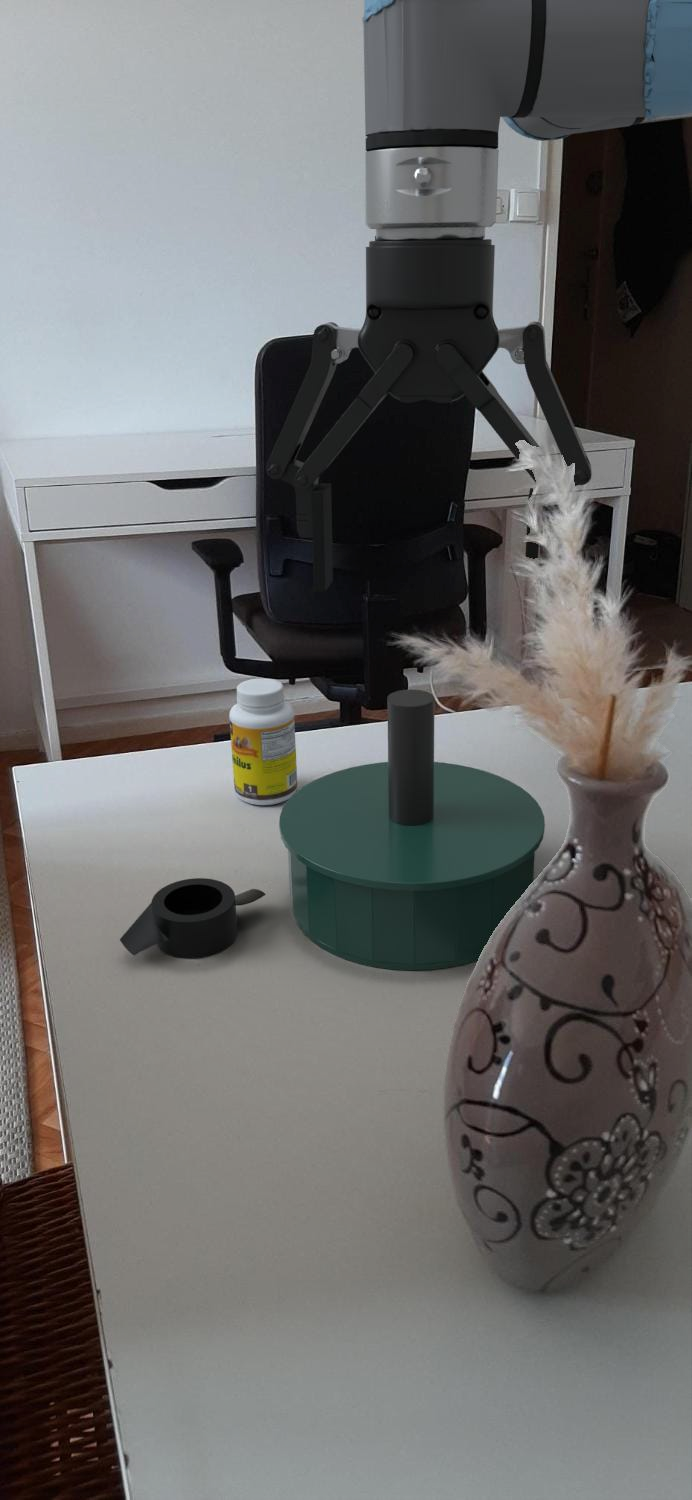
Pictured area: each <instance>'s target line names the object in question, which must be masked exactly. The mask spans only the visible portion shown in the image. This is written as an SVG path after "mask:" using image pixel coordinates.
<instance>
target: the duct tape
mask: <svg viewBox="0 0 692 1500" xmlns="http://www.w3.org/2000/svg"><path fill="white" fill-rule="evenodd" d="M265 896H266V892H264V891H263V890H260V889H257V888H250V889H249V890H245V891H243V892H241V893H238V894H235V891H234V889H233V888H232V887H231V886H230V885H229V884H227V883H225V882H224V881H220V880H217V879H212V878H205V877H199V878H198V877H197V878H196V877H195V878H187V879H182V880H177V881H174V882H172V883H169V884H167V885H165V886H164V887H162V888H160V889H159V890H158V891H157V892H156V893H155V894H154V895H153V896H152V898H151V902H150V903H149V905H148V906H147V907H145V909H144V910H143V912H142V913H141V914H140V915H139V916H138V917H137V918H136V920H135V921H134V922H133V923H132V924H131V926H130V927H128V929H127V930H126V931H125V933H124V934H122V936H121V937H120V938H119V942H120V943H121V944H122V945H123V947H124V948H125V949H126V951H128V952H129V953H130V954H131V955H132V956H133V957H134V956H136V955H138V954H140V953H141V952H143V951H145V950H147V949H149V948H151V947H153V946H157V948H158V949H159V950H160V951H162V952H163V953H165V954H166V955H169V956H172V957H174V958H180V959H199V958H205V957H206V958H207V957H210V956H213V955H216V954H219V953H221V952H223V951H225V950H226V949H228V948H229V947H230V946H231V945H233V943H234V942H235V941H236V940H237V938H238V934H239V933H238V932H239V931H238V919H237V906H239V907H240V906H245V905H248V904H251V903H253V902H256V901H258V900H260V899H261V898H263V897H265Z"/></svg>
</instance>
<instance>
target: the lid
mask: <svg viewBox="0 0 692 1500" xmlns="http://www.w3.org/2000/svg"><path fill="white" fill-rule="evenodd" d="M386 700H387V704H386V705H387V761H381V762H375V763H368V764H367V763H366V764H361V765H357V766H351V767H348V768H344V769H339V770H336V771H334V772H332V773H328V774H325V775H323V776H321V777H319V778H316V779H314V780H312V781H310V782H309V783H307V784H306V785H304V786H302V787H300V789H297V790H296V792H295V793H294V794H293V795H292V796H291V797H290V798H289V799H288V800H286V801H285V804H284V805H283V806H282V809H281V812H280V814H279V823H278V828H279V835H280V839H281V841H282V843H283V845H284V847H285V848H286V850H287V851H288V850H289V852H290V853H291V854H292V855H293V856H294V857H295V858H296V859H298V860H299V861H300V862H301V863H303V864H304V865H306V866H308V867H309V868H311V869H313V870H315V871H317V872H319V873H321V874H323V875H325V876H328V877H331V878H334V879H337V880H339V881H343V882H347V883H351V884H354V885H359V886H365V887H370V888H377V889H386V890H402V891H424V890H439V889H449V888H455V887H461V886H467V885H471V884H475V883H479V882H483V881H486V880H489V879H491V878H494V877H497V876H500V875H502V874H504V873H506V872H508V871H511V870H513V869H514V868H516V867H517V866H519V865H521V864H522V863H524V862H525V861H526V860H527V859H528V858H530V857H531V856H532V855H533V854H534V852H535V853H536V851H537V850H538V849H539V847H540V846H541V843H542V841H543V839H544V836H545V830H546V823H545V822H546V821H545V815H544V813H543V810H542V808H541V806H540V805H539V803H538V801H537V800H536V799H535V798H534V797H533V796H532V795H531V794H530V793H529V792H528V791H527V790H525V789H524V788H523V787H521V786H519V785H518V784H516V783H514V782H513V781H511V780H509V779H506V778H504V777H502V776H500V775H498V774H494V773H492V772H488V771H486V770H484V769H479V768H474V767H472V766H466V765H462V764H455V763H448V762H440V761H435V702H436V701H435V700H436V699H435V696H434V694H432V693H431V692H428V691H426V690H421V689H412V688H411V689H402V690H401V689H400V690H397V691H394V692H392V693H390V694H388V696H387V699H386Z"/></svg>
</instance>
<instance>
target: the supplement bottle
mask: <svg viewBox="0 0 692 1500" xmlns="http://www.w3.org/2000/svg"><path fill="white" fill-rule="evenodd" d="M236 701H237V703H236V704H234V705H233V706H232V707H231V709H230V711H229V714H228V715H229V717H228V718H229V719H228V720H229V731H230V745H231V746H230V747H231V759H232V773H233V774H232V775H233V785H234V793H235V795H236V796H237V797H238V798H239V799H240V800H241V801H243V802H245V803H248V804H251V805H255V806H272V805H277V804H280V803H283V802H287V801H288V800H289V799H290V797H291V796H292V795H293V794H294V793H296V792H297V791H298V770H297V769H298V768H297V745H296V729H295V728H296V727H295V726H296V725H295V724H296V723H295V711H294V707H293V706H292V705H291V704H290V703H289V702H287V701H286V700H285V694H284V685H283V683H282V682H281V681H279V680H276V679H273V678H266V677H265V678H252V679H247V680H244V681H242V682H240V683H239V684H238V685H237V686H236Z"/></svg>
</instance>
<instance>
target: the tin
mask: <svg viewBox="0 0 692 1500" xmlns="http://www.w3.org/2000/svg"><path fill="white" fill-rule="evenodd" d="M287 856H288V857H287V858H288V877H289V896H290V901H291V911H292V916H293V918H294V921H295V923H296V925H297V927H298V928H299V929H300V931H301V932H302V933H303V935H305V937H306V938H308V939H309V940H310V941H311V942H313V944H315V945H316V946H318V947H319V948H321V949H323V950H324V951H327V952H328V953H330V954H332V955H334V956H337V957H339V958H342V959H344V960H346V961H349V962H352V963H356V964H360V965H363V966H364V965H365V966H368V967H373V968H378V969H379V968H380V969H387V970H393V971H394V970H395V971H396V970H397V971H430V970H432V971H433V970H439V969H447V968H453V967H458V966H463V965H467V964H470V963H472V962H473V963H475V962H478V961H479V960H478V958H479V956H480V954H481V952H482V950H483V948H484V946H485V945H486V944H487V942H488V940H489V938H490V936H491V935H492V933H493V931H494V930H495V928H496V927H497V926H498V924H499V923H500V921H501V920H502V919H503V918H504V916H505V915H506V913H507V912H508V911H509V910H510V908H511V907H512V906H513V905H514V904H515V902H516V901H517V900H518V899H519V898H520V897H521V895H522V894H523V893H524V892H525V890H526V889H527V888H528V886H529V885H530V884H531V883H532V882H533V881H534V880H535V860H536V851H535V852H534V854H533V855H532V856H531V857H530V858H528V859H527V860H526V861H525V862H524V863H522V864H521V865H519V866H517V867H516V868H514V869H513V870H511V871H508V872H506V873H504V874H502V875H500V876H497V877H494V878H491V879H489V880H486V881H483V882H479V883H475V884H471V885H467V886H461V887H455V888H449V889H439V890H424V891H402V890H386V889H377V888H370V887H365V886H359V885H354V884H351V883H347V882H343V881H339V880H337V879H334V878H331V877H328V876H325V875H323V874H321V873H319V872H317V871H315V870H313V869H311V868H309V867H308V866H306V865H304V864H303V863H301V862H300V861H299V860H298V859H296V858H295V857H294V856H293V855H292V854H291V853H290V852H289V850H288V849H287ZM534 882H535V881H534Z"/></svg>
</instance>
